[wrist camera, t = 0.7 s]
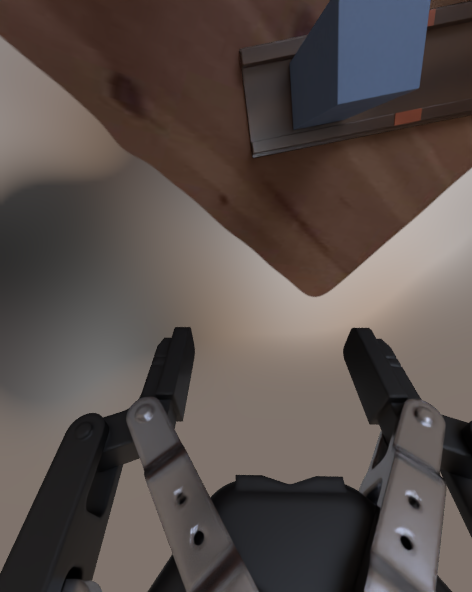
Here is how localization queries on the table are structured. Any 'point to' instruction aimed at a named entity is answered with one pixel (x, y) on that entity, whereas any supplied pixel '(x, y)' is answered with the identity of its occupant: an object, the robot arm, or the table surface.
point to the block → (357, 59)
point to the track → (386, 117)
